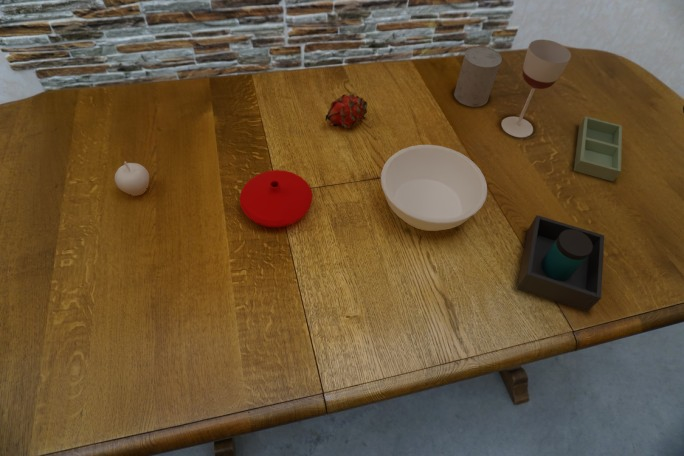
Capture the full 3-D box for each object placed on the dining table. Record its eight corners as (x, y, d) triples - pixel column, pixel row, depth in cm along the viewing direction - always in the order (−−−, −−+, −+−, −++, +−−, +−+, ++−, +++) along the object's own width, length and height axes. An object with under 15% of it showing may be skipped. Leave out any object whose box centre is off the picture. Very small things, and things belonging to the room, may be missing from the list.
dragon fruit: (369, 122, 123) (329, 139, 121) (357, 93, 122) (316, 109, 120) (377, 114, 114) (334, 132, 112) (364, 82, 114) (320, 100, 112)
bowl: (445, 265, 94) (455, 241, 88) (357, 212, 102) (359, 186, 95) (494, 200, 105) (505, 175, 99) (411, 156, 113) (416, 130, 107)
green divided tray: (615, 135, 121) (622, 125, 118) (613, 181, 110) (621, 171, 108) (578, 126, 122) (584, 115, 120) (573, 170, 112) (580, 160, 109)
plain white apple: (151, 174, 107) (140, 149, 100) (156, 196, 103) (145, 171, 96) (119, 182, 105) (106, 157, 99) (123, 204, 101) (110, 179, 95)
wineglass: (514, 111, 125) (545, 35, 108) (542, 130, 121) (579, 54, 103) (492, 122, 122) (520, 46, 104) (520, 143, 117) (554, 67, 100)
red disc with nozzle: (291, 244, 96) (289, 223, 91) (227, 218, 100) (221, 196, 94) (324, 193, 105) (324, 171, 99) (264, 171, 109) (261, 149, 103)
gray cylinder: (481, 111, 125) (495, 71, 115) (449, 99, 127) (459, 59, 118) (492, 92, 130) (506, 53, 120) (460, 81, 133) (471, 42, 123)
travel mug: (573, 260, 95) (593, 235, 88) (570, 284, 92) (591, 260, 85) (542, 251, 97) (560, 225, 89) (539, 274, 93) (557, 249, 86)
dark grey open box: (591, 250, 98) (604, 235, 93) (587, 312, 89) (601, 298, 84) (527, 230, 100) (536, 214, 96) (516, 288, 92) (526, 274, 87)
